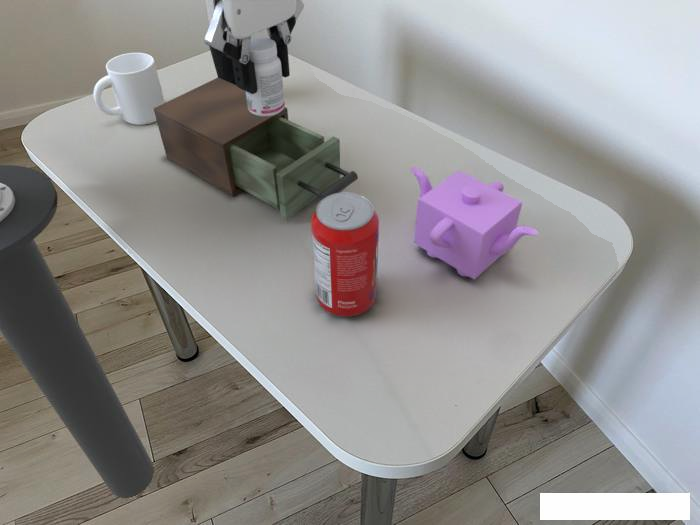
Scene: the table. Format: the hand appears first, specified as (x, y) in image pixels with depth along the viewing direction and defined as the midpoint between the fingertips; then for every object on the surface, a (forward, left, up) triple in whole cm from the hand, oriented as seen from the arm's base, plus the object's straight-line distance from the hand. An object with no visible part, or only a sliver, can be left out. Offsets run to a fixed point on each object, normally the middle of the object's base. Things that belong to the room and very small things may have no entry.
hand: (263, 80), depth 72 cm
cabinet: (+6, +18, -22) cm, 29 cm away
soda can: (-6, -18, -22) cm, 30 cm away
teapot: (+11, -25, -22) cm, 36 cm away
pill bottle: (0, 0, -4) cm, 4 cm away
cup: (+21, +32, -22) cm, 44 cm away
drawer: (+6, +3, -21) cm, 22 cm away
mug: (+4, +42, -22) cm, 47 cm away
